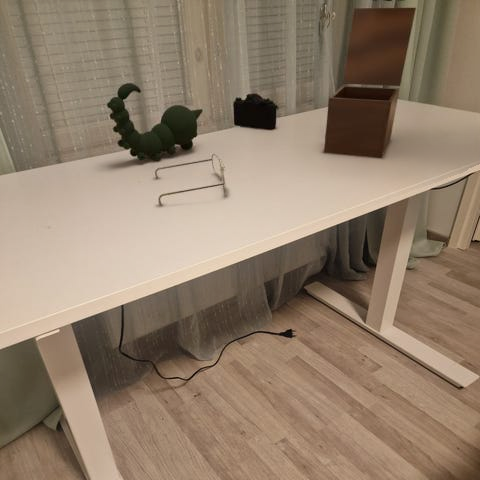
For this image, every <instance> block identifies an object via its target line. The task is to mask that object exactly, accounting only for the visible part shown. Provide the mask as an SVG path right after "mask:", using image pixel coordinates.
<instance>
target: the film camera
mask: <svg viewBox="0 0 480 480" xmlns="http://www.w3.org/2000/svg"><path fill="white" fill-rule="evenodd" d="M232 106H233V107H232V108H233V125H234V126H236V127H244V128H251V129H252V128H253V129H260V130H268V131H269V130H270V131H271V130H275V129H276V127H277V110H279V106H278V105H277V104H276V103H275V102H274V100H271V99H270V98H269V97H267V98H263V97H262V96H261V95H260V94H258V93H255V92H253V93H248V94H246V97H245V99H243V98H242V97H238V96H237V97H235V99H234V101H233V104H232Z"/></svg>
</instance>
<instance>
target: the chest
mask: <svg viewBox="0 0 480 480" xmlns="http://www.w3.org/2000/svg"><path fill="white" fill-rule="evenodd" d="M399 94H400V88H399V87H383V86H361V85H360V86H358V85H357V86H355V85H342V86H341V87H339V88H338V89H337V90H336V91H335V92H333V94H331V96H329V98H328V102H327V103H328V104H327V115H326V125H325V135H324V136H325V137H324V147H323V153H324V154H336V155H344V156H356V157H363V158H364V157H365V158H366V157H367V158H376V159H383V157H384V154H385V152H386V150H387V148H388V146H389V143H390V142H391V138H392V132H393V127H394V122H395V115H396V110H397V104H398V99H399Z"/></svg>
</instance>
